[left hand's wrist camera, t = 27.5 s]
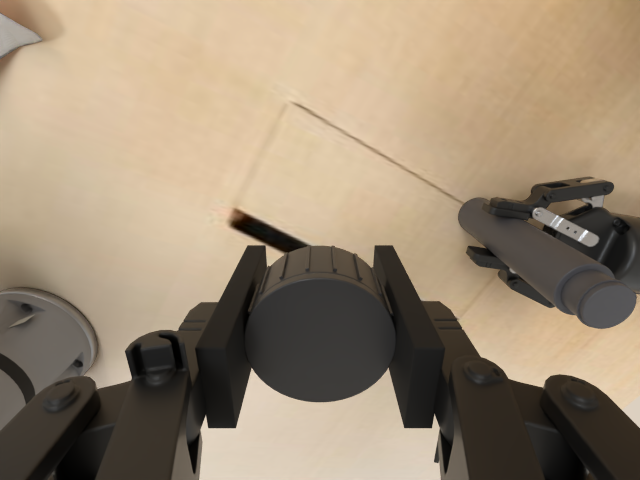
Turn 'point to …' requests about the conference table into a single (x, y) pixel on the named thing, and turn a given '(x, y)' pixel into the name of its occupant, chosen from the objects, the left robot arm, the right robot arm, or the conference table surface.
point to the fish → (14, 35)
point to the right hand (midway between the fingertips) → (478, 230)
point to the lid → (320, 325)
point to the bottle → (552, 267)
